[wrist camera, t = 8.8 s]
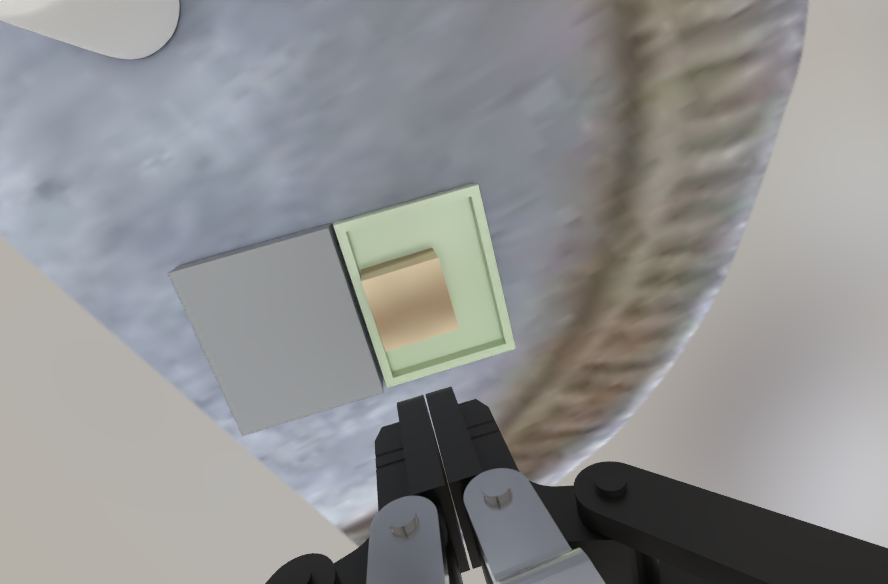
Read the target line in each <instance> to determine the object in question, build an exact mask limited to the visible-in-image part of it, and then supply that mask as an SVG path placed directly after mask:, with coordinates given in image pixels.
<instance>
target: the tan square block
mask: <svg viewBox="0 0 888 584" xmlns="http://www.w3.org/2000/svg"><path fill="white" fill-rule="evenodd" d="M361 283H362V285H363V288H364V291H365V294H366V297H367V300H368V303H369V306H370V308H371V311H372V314H373V317H374V320H375V323H376V326H377V329H378V332H379V334H380V337H381V340H382V343H383V346H384V349H385V352H388V351H391V350H394V349H397V348H400V347H403V346H406V345H409V344H413V343H416V342H419V341H422V340H425V339H428V338H431V337H435V336H438V335H441V334H444V333H447V332H450V331H453V330H456V329H459V327H458V324H457V320H456V317H455V313H454V310H453V306H452V303H451V299H450V296H449V292H448V289H447V285H446V282H445V278H444V275H443V271H442V268H441V264H440V261H439V257H438V256H437V254H436V253H435V251H434V250H433V248H429V249H426V250H423V251H420V252H416V253H413V254H410V255H407V256H403V257H400V258H397V259H394V260H390V261H387V262H384V263H381V264H377V265H374V266H371V267H368V268H364V269H361Z"/></svg>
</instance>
